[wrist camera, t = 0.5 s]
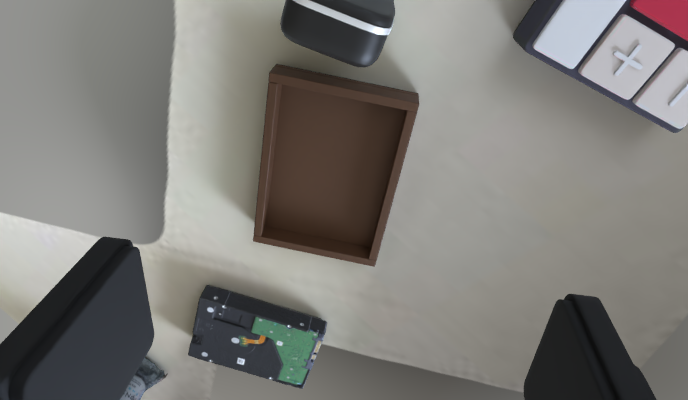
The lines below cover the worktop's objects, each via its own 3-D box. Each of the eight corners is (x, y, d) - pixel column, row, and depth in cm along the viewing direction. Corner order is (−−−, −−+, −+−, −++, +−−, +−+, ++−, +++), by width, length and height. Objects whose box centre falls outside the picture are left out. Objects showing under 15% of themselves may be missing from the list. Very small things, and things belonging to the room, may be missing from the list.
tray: (276, 63, 42) (269, 72, 40) (418, 93, 42) (419, 103, 40) (259, 227, 51) (252, 241, 49) (376, 251, 51) (374, 266, 49)
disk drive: (195, 339, 61) (307, 373, 62) (187, 357, 59) (303, 391, 60) (206, 280, 56) (328, 318, 57) (197, 297, 54) (325, 336, 54)
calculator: (682, 139, 38) (523, 52, 35) (655, 118, 41) (509, 37, 39) (811, 6, 32) (635, -110, 30) (767, -5, 36) (607, -110, 33)
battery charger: (301, 8, 39) (267, 41, 30) (315, -41, 37) (284, -23, 28) (380, 40, 40) (373, 82, 30) (398, -7, 38) (397, 22, 28)
